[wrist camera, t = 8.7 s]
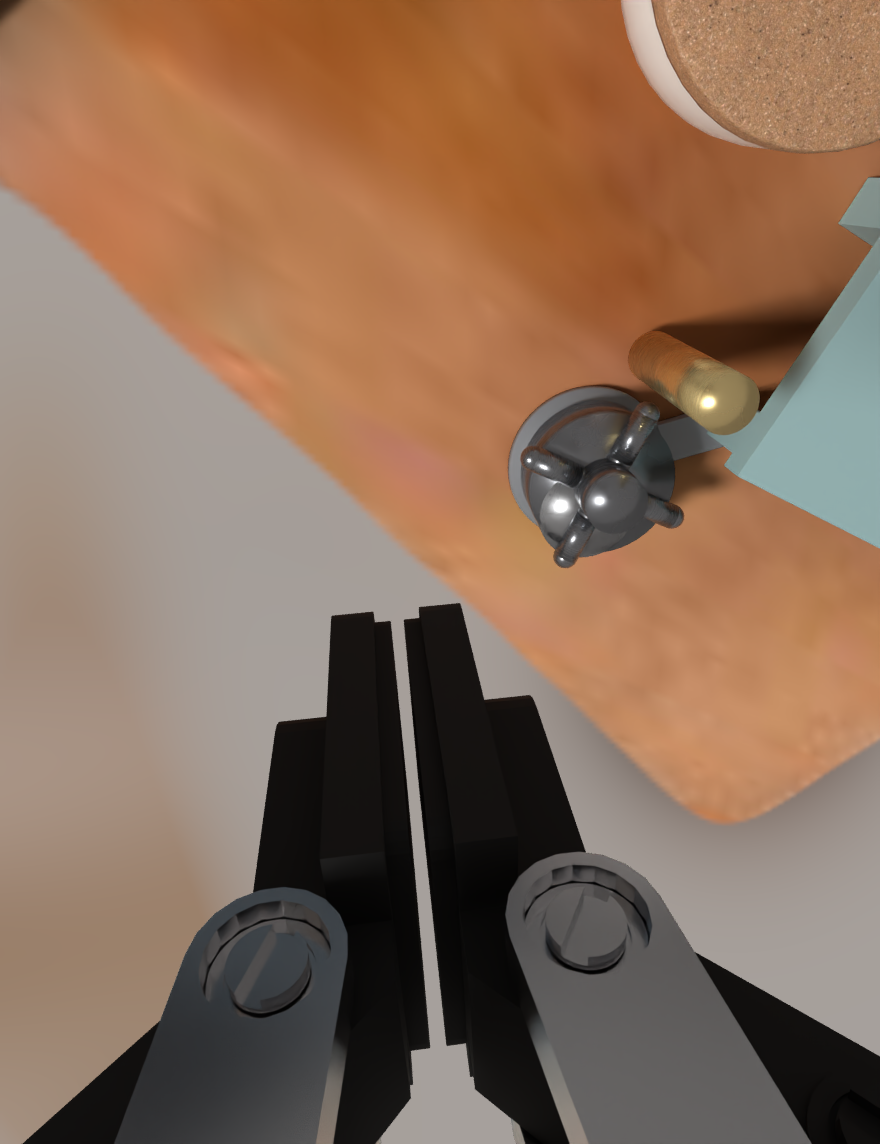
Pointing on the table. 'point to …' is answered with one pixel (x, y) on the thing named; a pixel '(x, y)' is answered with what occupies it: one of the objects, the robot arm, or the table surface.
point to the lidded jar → (765, 68)
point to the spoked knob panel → (795, 408)
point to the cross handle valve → (626, 451)
